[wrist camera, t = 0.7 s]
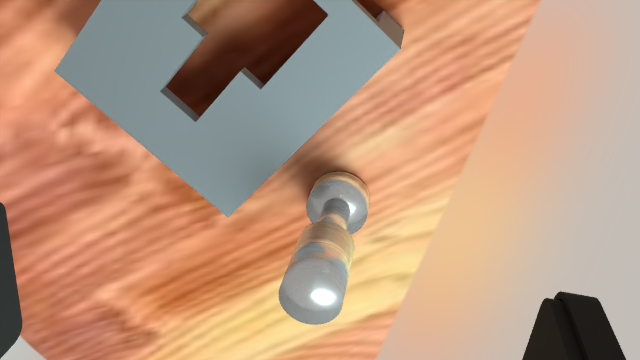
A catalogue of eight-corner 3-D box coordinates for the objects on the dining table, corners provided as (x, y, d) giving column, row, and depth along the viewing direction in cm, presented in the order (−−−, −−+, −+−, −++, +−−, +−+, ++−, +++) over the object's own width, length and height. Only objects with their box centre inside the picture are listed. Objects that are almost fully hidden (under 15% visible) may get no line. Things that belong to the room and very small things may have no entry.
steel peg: (338, 159, 46) (307, 253, 35) (382, 199, 47) (365, 302, 36) (299, 196, 48) (257, 295, 37) (341, 233, 49) (313, 341, 38)
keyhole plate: (227, -146, 37) (200, -149, 33) (404, 30, 41) (400, 48, 36) (90, 52, 45) (54, 70, 41) (247, 186, 49) (228, 217, 44)
